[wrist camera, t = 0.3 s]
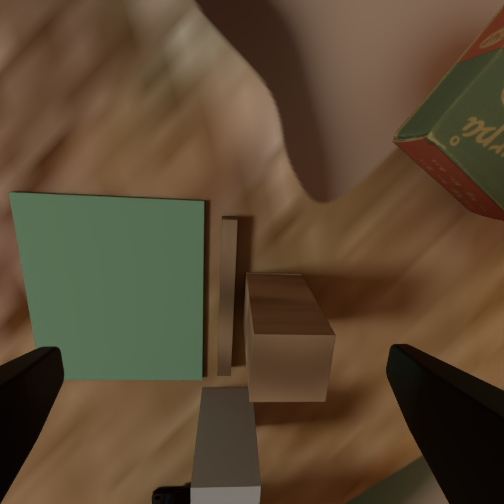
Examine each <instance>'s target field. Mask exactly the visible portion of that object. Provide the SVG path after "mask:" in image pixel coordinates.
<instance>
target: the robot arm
mask: <svg viewBox="0 0 504 504" xmlns="http://www.w3.org/2000/svg"><path fill="white" fill-rule="evenodd" d="M386 374H387V378H388V380H389V383H390V385H391V388H392V390H393V392H394V395H395V397H396V400H397V402H398V404H399V407H400V409H401V411H402V414H403V416H404V419H405V421H406V423H407V425H408V427H409V430H410V432H411V433H412V435H413V437H414V439H415V441H416V443H417V445H418V447H419V449H420V450H421V452H422V454H423V456H424V458H425V460H426V462H427V463H428V465H429V467H430V469H431V471H432V473H433V474H434V476H435V478H436V480H437V482H438V484H439V486H440V487H441V489H442V491H443V493H444V494H445V497H446V499H447V500H448V502H449V504H504V391H503V390H501V389H499V388H497V387H495V386H493V385H491V384H489V383H487V382H485V381H483V380H481V379H479V378H476V377H474V376H472V375H470V374H468V373H466V372H464V371H462V370H460V369H458V368H456V367H454V366H452V365H450V364H448V363H445V362H443V361H441V360H439V359H437V358H435V357H433V356H431V355H429V354H427V353H425V352H423V351H421V350H419V349H416V348H414V347H412V346H410V345H408V344H393V345H392V346H391V348H390V351H389V357H388V362H387V367H386ZM63 381H64V367H63V361H62V354H61V350H60V348H58V347H57V346H43V347H39V348H37V349H35V350H33V351H31V352H29V353H26V354H24V355H22V356H20V357H18V358H16V359H14V360H11V361H9V362H7V363H5V364H3V365H1V366H0V504H1V502H2V500H3V499H4V497H5V495H6V493H7V492H8V490H9V488H10V486H11V485H12V483H13V481H14V479H15V478H16V476H17V474H18V472H19V471H20V469H21V467H22V465H23V464H24V462H25V460H26V458H27V457H28V455H29V453H30V451H31V450H32V448H33V446H34V444H35V442H36V440H37V439H38V437H39V434H40V432H41V430H42V428H43V426H44V424H45V422H46V419H47V417H48V415H49V413H50V410H51V408H52V406H53V404H54V401H55V399H56V397H57V395H58V393H59V390H60V388H61V386H62V384H63ZM152 504H191V488H189V489H157V490H154V491H153V495H152Z"/></svg>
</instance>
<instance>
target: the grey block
mask: <svg viewBox="0 0 504 504" xmlns="http://www.w3.org/2000/svg"><path fill="white" fill-rule="evenodd" d="M260 492H261V481H260V470H259V459H258V448H257V437H256V426H255V415H254V404H253V402H249V390H248V388H202V395H201V403H200V412H199V420H198V429H197V437H196V446H195V454H194V463H193V472H192V480H191V504H259V503H260Z"/></svg>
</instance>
